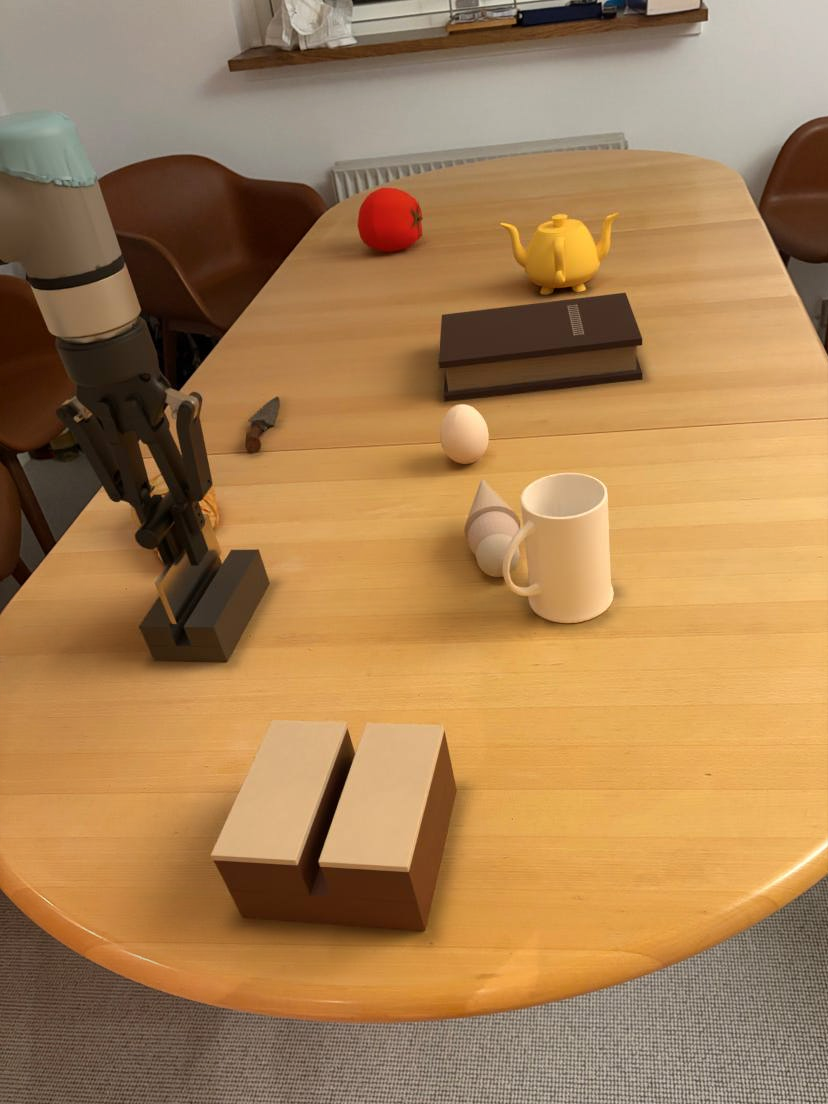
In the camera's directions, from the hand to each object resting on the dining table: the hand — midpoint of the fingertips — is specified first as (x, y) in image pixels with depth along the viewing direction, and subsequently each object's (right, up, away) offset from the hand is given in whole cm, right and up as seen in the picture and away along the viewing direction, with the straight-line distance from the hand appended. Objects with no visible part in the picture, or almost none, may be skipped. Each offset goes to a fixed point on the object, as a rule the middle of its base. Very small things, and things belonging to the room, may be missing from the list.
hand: (186, 557), depth 91 cm
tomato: (+12, +72, +96) cm, 121 cm away
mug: (+37, -5, +1) cm, 37 cm away
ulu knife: (0, -3, +2) cm, 4 cm away
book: (+38, +33, +45) cm, 68 cm away
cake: (+20, -25, -20) cm, 37 cm away
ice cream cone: (+31, +2, +10) cm, 32 cm away
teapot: (+44, +53, +68) cm, 97 cm away
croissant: (-7, +5, +21) cm, 23 cm away
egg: (+28, +14, +25) cm, 40 cm away
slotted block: (+1, -6, +5) cm, 8 cm away
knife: (-2, +22, +40) cm, 46 cm away
